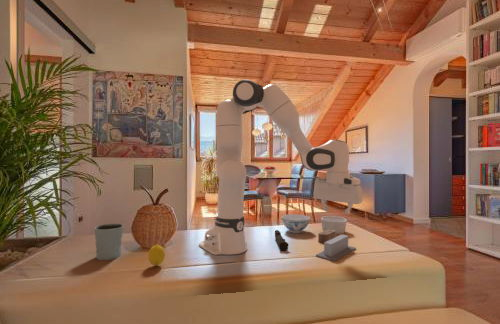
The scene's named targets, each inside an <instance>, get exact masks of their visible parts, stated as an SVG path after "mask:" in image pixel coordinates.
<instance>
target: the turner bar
mask: <svg viewBox="0 0 500 324" xmlns="http://www.w3.org/2000/svg"><path fill="white" fill-rule="evenodd" d="M323 246H324V247H323V249H324V250H323V251H324V255H326V256H330V257H332V256H334V255H335V254H337V253H339V252H341V251H342V250H344V249H346V248H348V246H349V235H346V234H339V235H338V236H337V235H336V237H335V238H333V239H331V240H329V241H327V242H325V243H323Z"/></svg>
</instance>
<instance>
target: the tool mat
mask: <svg viewBox="0 0 500 324" xmlns="http://www.w3.org/2000/svg"><path fill="white" fill-rule="evenodd" d="M356 249H357V248H356V247H354V246H351V245H350V246H349V245H348V248H346V249H344V250H342V251H341V252H339V253H337V254H335V255H334V256H332V257H330V256H326V255H324V250H322V251H321V252H319V253H317V254H316V255H315V257H316V258H321V259H324V260H327V261H331V262H336V261H338V260H340V259H341V257H342V258H344V256H347V255H348V254H350V253H351V252H353V251H355V250H356Z"/></svg>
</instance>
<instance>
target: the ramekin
mask: <svg viewBox="0 0 500 324" xmlns="http://www.w3.org/2000/svg"><path fill="white" fill-rule="evenodd" d="M320 220H321V227H322V228H321V229H322V232H323V231H326V230H328V229H329V230H334V231H336V235H344V233H345V232H346V228H347V221H348V219H346V218H344V217H341V216H333V215H332V216H330V215H328V216H322V217H321V219H320Z"/></svg>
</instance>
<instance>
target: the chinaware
mask: <svg viewBox="0 0 500 324" xmlns="http://www.w3.org/2000/svg"><path fill="white" fill-rule="evenodd" d="M281 220H282V223H283V225H284V227H285V228H286V229H287V230H288V231H289V232H290V233H294V234H300V233H302V232H303V230H305V229H306V228H307V227H308V225H309V223H310V221H311V217H310V216H309V215H306V214H305V215H304V214H295V213H290V214H289V213H287V214H283V215H281Z"/></svg>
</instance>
